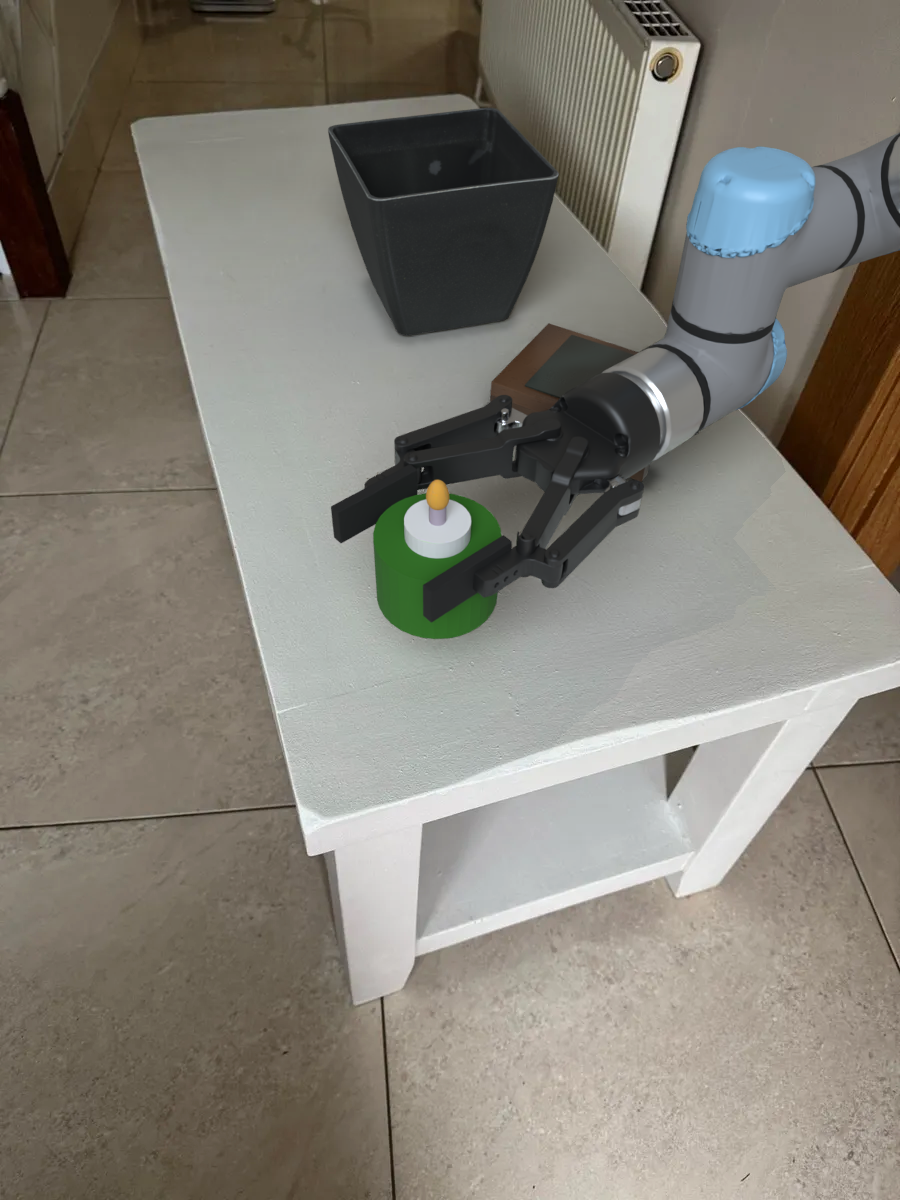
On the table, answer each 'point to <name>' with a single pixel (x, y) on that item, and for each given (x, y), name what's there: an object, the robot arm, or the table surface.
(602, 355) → the small stand
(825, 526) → the table surface
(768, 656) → the table surface
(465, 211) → the flower pot
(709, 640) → the table surface
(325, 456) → the table surface
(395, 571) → the candle
